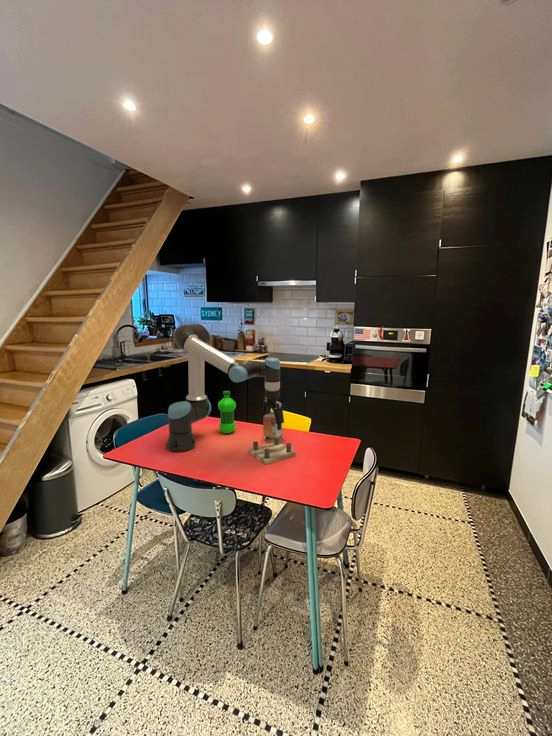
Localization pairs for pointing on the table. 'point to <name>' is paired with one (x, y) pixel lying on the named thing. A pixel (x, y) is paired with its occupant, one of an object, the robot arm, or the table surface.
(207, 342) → the robot arm
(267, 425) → the small box
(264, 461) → the peg board
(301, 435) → the table surface
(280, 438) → the coffee box
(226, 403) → the plastic bottle
